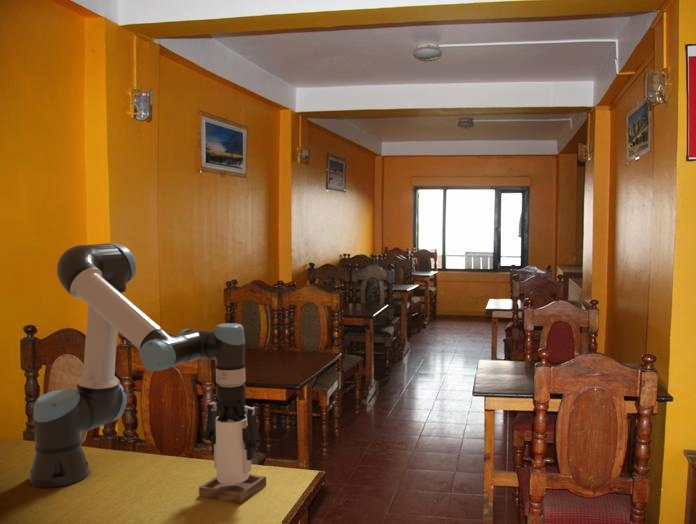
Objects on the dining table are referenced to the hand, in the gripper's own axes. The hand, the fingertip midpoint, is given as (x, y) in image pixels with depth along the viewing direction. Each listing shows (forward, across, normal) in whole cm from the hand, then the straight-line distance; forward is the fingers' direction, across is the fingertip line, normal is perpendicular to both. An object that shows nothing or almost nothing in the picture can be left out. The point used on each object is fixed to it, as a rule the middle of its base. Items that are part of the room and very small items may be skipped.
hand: (232, 469), depth 171 cm
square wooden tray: (+6, 0, 0) cm, 6 cm away
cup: (+2, 0, 0) cm, 2 cm away
